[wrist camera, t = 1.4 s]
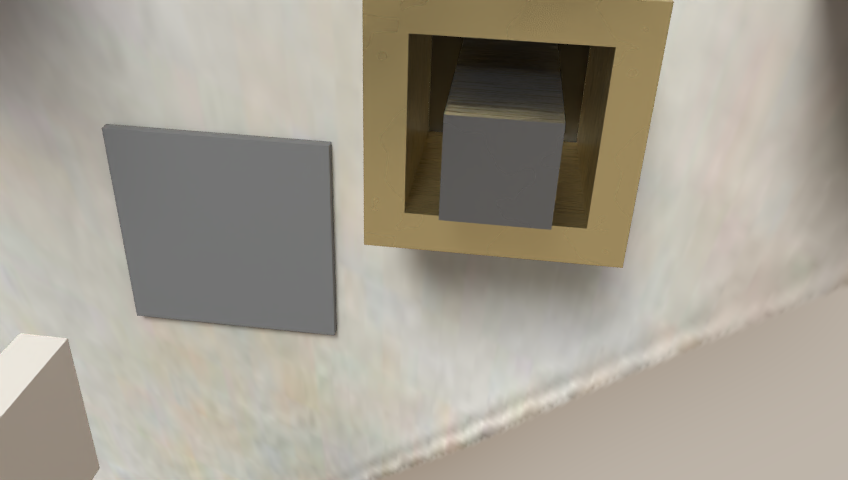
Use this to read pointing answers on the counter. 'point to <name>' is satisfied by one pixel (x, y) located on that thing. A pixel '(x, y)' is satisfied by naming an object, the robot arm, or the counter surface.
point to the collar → (580, 162)
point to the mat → (226, 226)
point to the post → (503, 134)
